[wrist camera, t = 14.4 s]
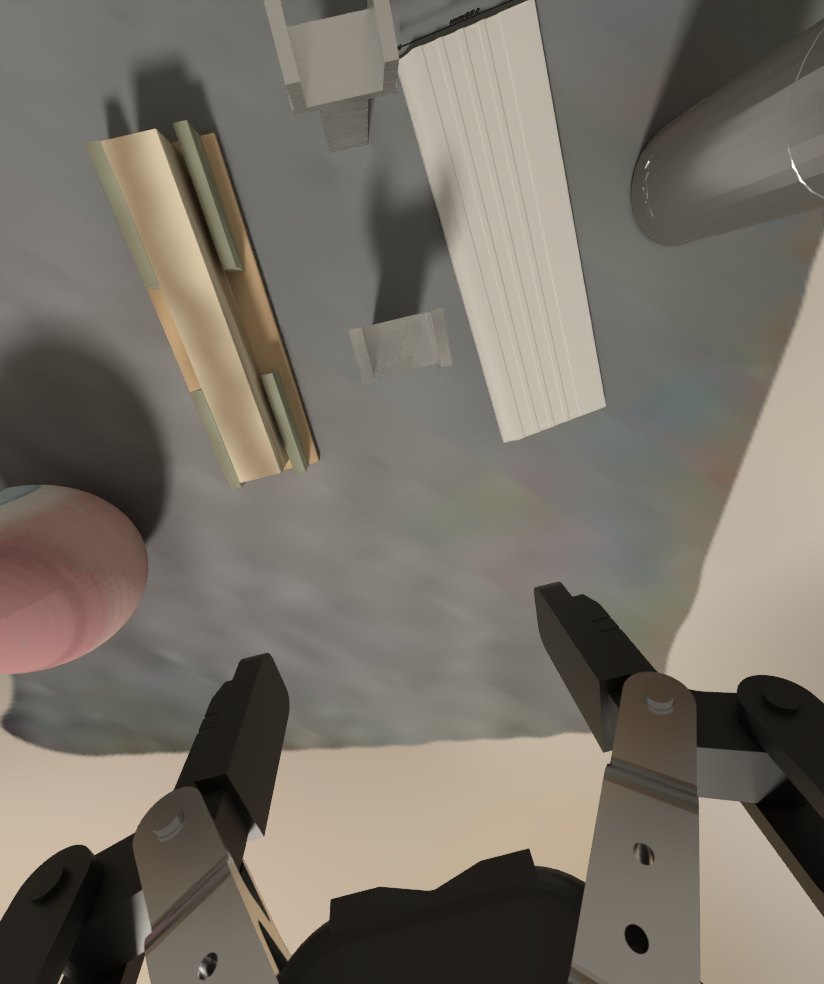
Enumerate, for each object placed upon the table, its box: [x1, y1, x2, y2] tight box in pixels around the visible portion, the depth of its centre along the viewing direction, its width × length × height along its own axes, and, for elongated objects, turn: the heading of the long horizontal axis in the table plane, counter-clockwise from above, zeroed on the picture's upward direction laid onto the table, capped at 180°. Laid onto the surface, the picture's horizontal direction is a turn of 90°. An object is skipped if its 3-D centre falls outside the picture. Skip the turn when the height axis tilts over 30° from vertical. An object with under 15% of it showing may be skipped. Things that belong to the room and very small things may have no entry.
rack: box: [85, 120, 320, 490], centre depth 34 cm, size 9×26×3 cm, turn 12°
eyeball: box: [0, 485, 148, 674], centre depth 34 cm, size 15×15×15 cm
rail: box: [101, 129, 289, 483], centre depth 33 cm, size 4×24×5 cm, turn 12°
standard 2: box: [349, 308, 452, 386], centre depth 32 cm, size 6×4×11 cm, turn 102°
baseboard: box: [397, 0, 606, 443], centre depth 35 cm, size 31×3×12 cm
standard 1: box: [264, 0, 399, 153], centre depth 26 cm, size 6×4×11 cm, turn 102°
